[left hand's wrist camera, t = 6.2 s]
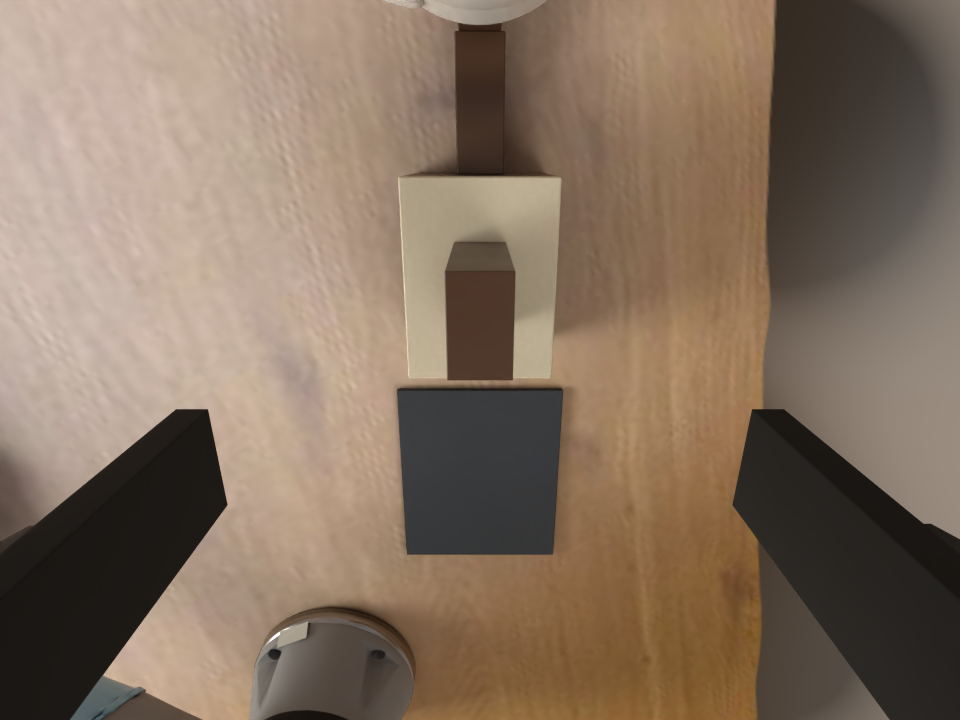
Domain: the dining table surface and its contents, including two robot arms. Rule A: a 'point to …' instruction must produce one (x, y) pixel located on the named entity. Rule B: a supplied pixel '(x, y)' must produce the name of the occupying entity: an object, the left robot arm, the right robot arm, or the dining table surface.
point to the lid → (480, 275)
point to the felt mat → (480, 469)
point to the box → (480, 101)
